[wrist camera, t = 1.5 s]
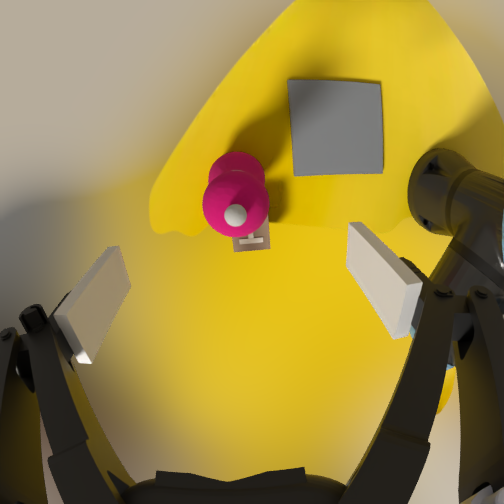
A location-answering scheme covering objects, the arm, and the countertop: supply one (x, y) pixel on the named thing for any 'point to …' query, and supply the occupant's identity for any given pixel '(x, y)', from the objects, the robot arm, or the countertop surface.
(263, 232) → the marked cube
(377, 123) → the grey mat
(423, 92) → the countertop surface
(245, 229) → the pepper mill
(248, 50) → the countertop surface
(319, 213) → the countertop surface
